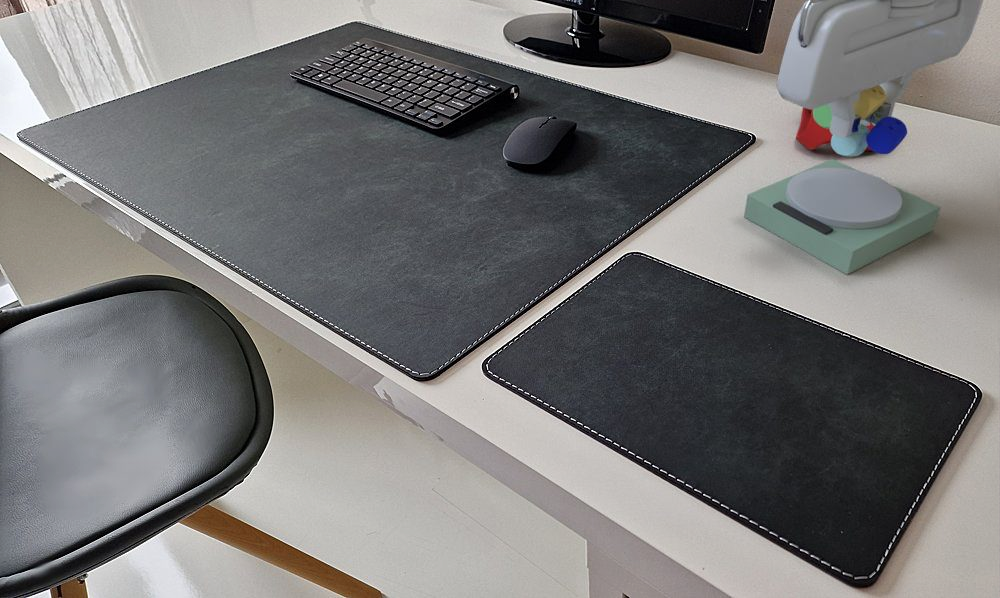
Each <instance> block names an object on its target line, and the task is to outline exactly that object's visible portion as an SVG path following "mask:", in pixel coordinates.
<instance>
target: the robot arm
mask: <svg viewBox="0 0 1000 598" xmlns="http://www.w3.org/2000/svg"><path fill="white" fill-rule="evenodd" d="M984 1H985V0H807V1H805V2H804V3H803V5H802V7H801V9H800V10H799V12H798V13H797V15H796V17H795V19H794V21H793V22H792V23H793V24H792V27H791V29H790V32H789V35H788V39H787V42H786V45H785V49H784V52H783V56H782V60H781V62H780V63H781V64H780V68H779V73H778V75H777V80H776V81H777V83H776V88H777V92H778V93H779V95H780V97H781V99H783V100H785V101H787V102H789V103H791V104H793V105H796V106H798V107H801V108H803V107H804V108H807V109H816V108H819V107H822V106H824V105H827V104H829V106H830V109H831V113H832V114H833V115H832V120H831V125H830V132H831V134H832V135H835V136H837V137H839V138H842V139H844V138H846V137H849V136H851V135H854V134H856V133H857V132H858V126H859V124H860V120H861V116H859V115H856V114H855V110H854V102H858V101H859V98H860V94H861V91H864V90H866V89H869V88H872V87H874V86H877V85H880V86H881V87H882V88H883V90H884V91H885V95H886V100H885V102H884V103H883V104H882V105H881V106H880V107H879V108H878V109H877V110H876V111H875V112H874V113H873V114H871V115H870V116H869V117H868V118H866V119H865V120H866V121H868V122H872V124H873V125H874V126H875V125H876V124H877V123H878V122H879V121H880V120H881V119H882V118H884V117H893V112H894V108H895V106H896V103H897V102H898V101H899V99H900V97H901V96H902V95H903V93H904V91H905V90H906V88H907V87H908V86H909V84H910V83H911V79H912V76H913V73H914V72H916V71H919V70H923V69H924V68H927V67H930V66H933V65H935V64H937V63H941V62H944V61H947V60H949V59H951V58H953V57H957V56H958V55H959V54H960V53H961V51H962V50H963V49H964V47H966V45H967V43H968V42H969V41H970V38H971V36H972V35H973V32H974V29H975V27H976V25H977V21H978V18H979V15H980V13H981V9H982V6H983V4H984Z"/></svg>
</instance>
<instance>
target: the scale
mask: <svg viewBox="0 0 1000 598" xmlns="http://www.w3.org/2000/svg"><path fill="white" fill-rule="evenodd" d="M940 211H941V207H940V206H939V205H937V204H935V203H932V202H929V201H928V200H925V199H923V198H921V197H919V196H916V195H914V194H912V193H910V192H908V191H905V190H903V189H901V188H899V187H896V186H894V185H893V184H891V183H890V182H888V181H886V180H885V179H882V178H881V177H879V176H876V175H873V174H870V173H867V172H864V171H860V170H858V169H856V168H855V167H852V166H849V165H848V164H845V163H843V162H841V161H838V160H836V159H833V158H831V159H829V160H826V161H824V162H821V163H818V164H817V165H814V166H812V167H809V168H807V169H805V170H802V171H800V172H797V173H795V174H793V175H790V176H789V177H786V178H784V179H781V180H779V181H776V182H774V183H771V184H770V185H766V186H765V187H762V188H759V189H757V190H755V191H753V192H750V193H748V194H747V197H746V202H745V209H744V215H743V217H744V218H745V219H747V220H749V221H751V222H753V223H754V224H756V225H757V226H760V227H761V228H763V229H765V230H767V231H768V232H770V233H772V234H774V235H776V236H777V237H779V238H780V239H783V240H785V241H786V242H788V243H790V244H792V245H793V246H795V247H797V248H799V249H800V250H802V251H804V252H806V253H808V254H809V255H811V256H813V257H815V258H817V259H818V260H820V261H822V262H824V263H826V264H827V265H829V266H831V267H833V268H834V269H836V270H838V271H840V272H842V273H843V274H845V275H850V274H851V273H853V272H855V271H857V270H859V269H861V268H864V267H865V266H866V265H869V264H870V263H872V262H874V261H877V260H878V259H880V258H882V257H884V256H886V255H888V254H890V253H892V252H894V251H896V250H898V249H900V248H902V247H904V246H905V245H907V244H909V243H911V242H914V241H915V240H917V239H919V238H922V237H923V236H925V235H927V234H929V233H931V232H932V231H934V228H935V227H936V226H935V225H936V222H937V220H938V216H939V213H940Z"/></svg>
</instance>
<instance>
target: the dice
mask: <svg viewBox="0 0 1000 598" xmlns="http://www.w3.org/2000/svg"><path fill="white" fill-rule="evenodd" d="M885 100H886V95H885V91H884V90H883V88H882V87H881V86H880V85H877V86H874V87H872V88H869V89H866V90H864V91H861V94H860V98H859V101H858V102H854V110H855V114H856V115H859V116H861V120H865V119H866V118H868V117H869V116H870V115H871V114H873V113H874V112H875V111H876V110H877V109H878V108H879V107H880V106H881V105H882V104H883V103H884V102H885ZM832 115H833V114H832V113H831V109H830V106H829V104H827V105H824V106H822V107H819V108H816V109H814V110H813V117H814V119H815V121H816V122H817V123H818V124H819V125H820V126H822V127H824V128H827V129H830V125H831V120H832ZM907 135H908V128H907V125H906V124H905V122H904V121H902V120H901V119H900V118H898V117H894V116H891V117H884V118H882V119H881V120H880V121H879V122H878V123H877V124H876V125H875V124H874V127H873V128H872V129H871V131H869V129H868V128H867V127H866V126H865V125H863V124H859V126H858V132H857V133H856V134H854V135H851V136H849V137H846V138H844V139H842V138H839V137H837V136H835V135H833V136H832V139H831V144H830V146H831V149H832V150H833V151H834V152H835V153H836V154H838V155H840V156H843V157H857V156H860V155H862V154H863V153H864V152H865V151H866V150H865V149H866V148H867V146H869V148H870V149H871V150H873V151H872V152H874V153H875V154H879V155H889V154H891V153H892V152H893V151H894V150H896V148H897V147H898V146H899V145H900V144H901V143H902V142H903V140H904V139H905V138H906V136H907Z"/></svg>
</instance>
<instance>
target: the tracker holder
mask: <svg viewBox="0 0 1000 598" xmlns="http://www.w3.org/2000/svg"><path fill="white" fill-rule="evenodd" d="M813 110H814V109H807V108H804V107H802V111H801V118H800V124H799V127H798V129H797V133H796V136H795V140H796V141H797V142H799V143H800V144H801V145H802V146H803V147H805V148H806V149H807V150H809V151H813V150H815V149H817V148H818V147H821V146H823V145H831V139H832V136H833V135H832V134H831V132H830V129H827V128H824V127H822V126H820V125H819V124H818V123H817V122H816V121H815V119H814V117H813ZM860 124H863V125H865V126H866V127H867V128H868V129H869V131H871V129H872V128H873V127H874V126H875V124H873V123H872V122H868V121H866V120H860ZM864 151H871V152H874V151H873V150H871V149H870V148H869V146H867V148H866V149H865V150H864Z"/></svg>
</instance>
